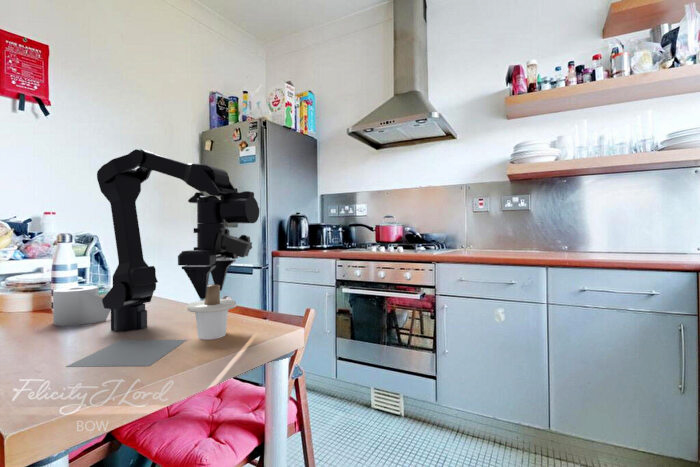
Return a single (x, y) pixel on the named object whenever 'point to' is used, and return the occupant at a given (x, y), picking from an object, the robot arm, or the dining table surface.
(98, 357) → the mat
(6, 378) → the dining table surface
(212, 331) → the white cup
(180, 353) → the dining table surface
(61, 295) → the toilet tissue
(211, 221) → the robot arm
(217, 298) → the lid
